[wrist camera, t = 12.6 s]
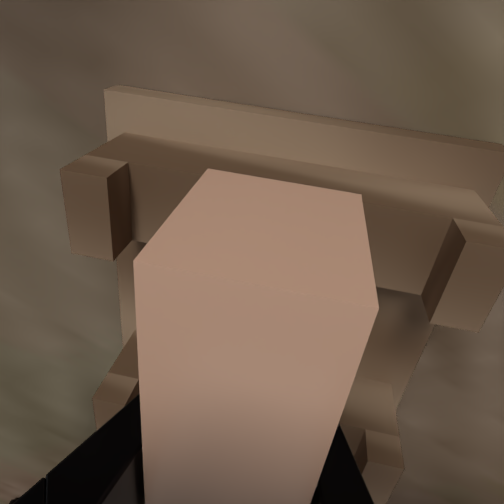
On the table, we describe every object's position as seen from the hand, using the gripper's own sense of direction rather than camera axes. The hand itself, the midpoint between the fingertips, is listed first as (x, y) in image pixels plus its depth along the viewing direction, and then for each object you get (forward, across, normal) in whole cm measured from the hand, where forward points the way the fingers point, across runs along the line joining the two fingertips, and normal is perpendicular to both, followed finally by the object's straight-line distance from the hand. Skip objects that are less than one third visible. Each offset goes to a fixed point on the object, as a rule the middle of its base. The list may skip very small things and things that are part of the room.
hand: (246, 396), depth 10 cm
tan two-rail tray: (+4, 0, 0) cm, 5 cm away
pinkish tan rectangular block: (+1, 0, 0) cm, 1 cm away
